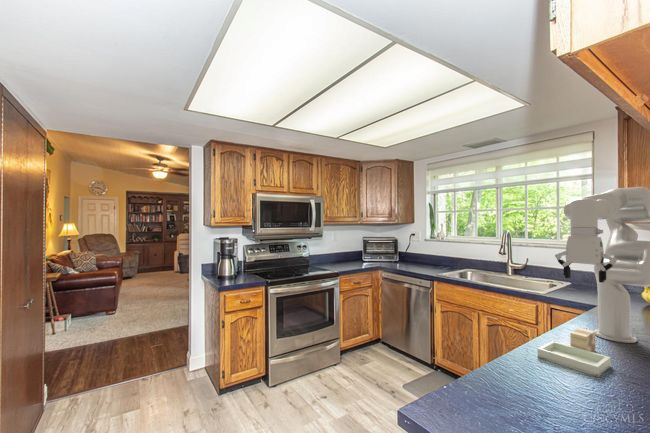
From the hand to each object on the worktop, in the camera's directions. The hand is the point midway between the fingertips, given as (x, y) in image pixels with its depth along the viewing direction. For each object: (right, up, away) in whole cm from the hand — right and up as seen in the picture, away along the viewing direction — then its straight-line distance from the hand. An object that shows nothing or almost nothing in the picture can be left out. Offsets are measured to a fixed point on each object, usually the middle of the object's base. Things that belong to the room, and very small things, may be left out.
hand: (584, 279), depth 108 cm
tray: (-11, -26, -8) cm, 29 cm away
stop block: (-1, -26, 0) cm, 26 cm away
